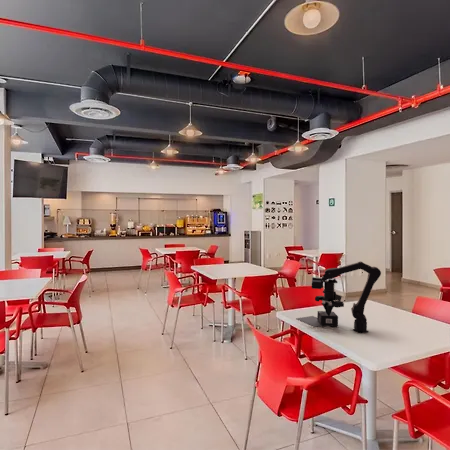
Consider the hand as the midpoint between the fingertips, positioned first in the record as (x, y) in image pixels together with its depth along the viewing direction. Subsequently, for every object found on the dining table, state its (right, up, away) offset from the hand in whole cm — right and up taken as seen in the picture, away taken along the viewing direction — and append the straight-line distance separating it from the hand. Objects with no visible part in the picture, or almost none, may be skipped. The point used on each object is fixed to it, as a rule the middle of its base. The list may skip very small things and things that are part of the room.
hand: (328, 315), depth 199 cm
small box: (+1, -4, +1) cm, 4 cm away
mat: (-6, -7, +12) cm, 15 cm away
